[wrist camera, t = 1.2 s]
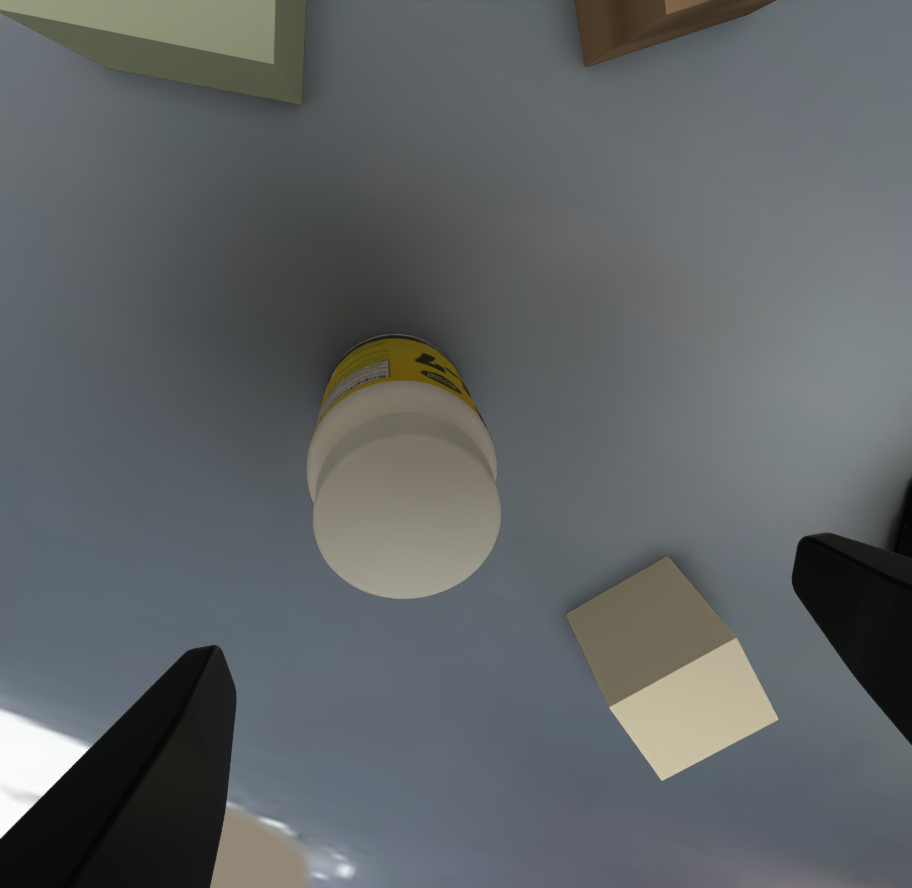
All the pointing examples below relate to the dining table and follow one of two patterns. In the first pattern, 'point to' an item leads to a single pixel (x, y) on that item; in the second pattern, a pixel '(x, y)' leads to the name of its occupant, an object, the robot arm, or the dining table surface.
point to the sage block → (182, 39)
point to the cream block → (670, 668)
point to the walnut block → (648, 22)
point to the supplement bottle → (402, 471)
